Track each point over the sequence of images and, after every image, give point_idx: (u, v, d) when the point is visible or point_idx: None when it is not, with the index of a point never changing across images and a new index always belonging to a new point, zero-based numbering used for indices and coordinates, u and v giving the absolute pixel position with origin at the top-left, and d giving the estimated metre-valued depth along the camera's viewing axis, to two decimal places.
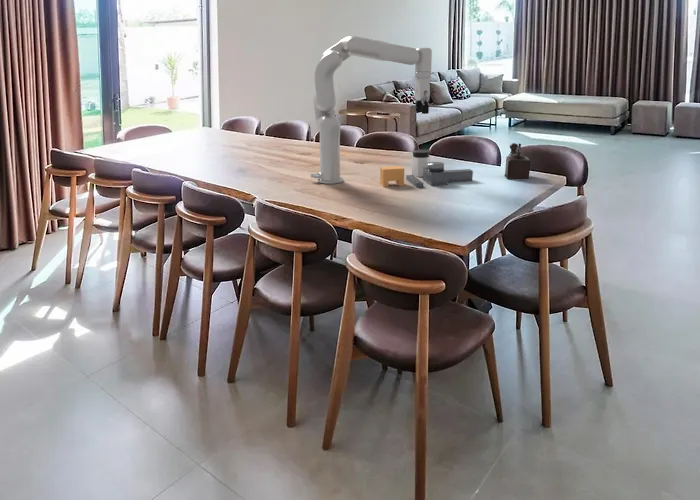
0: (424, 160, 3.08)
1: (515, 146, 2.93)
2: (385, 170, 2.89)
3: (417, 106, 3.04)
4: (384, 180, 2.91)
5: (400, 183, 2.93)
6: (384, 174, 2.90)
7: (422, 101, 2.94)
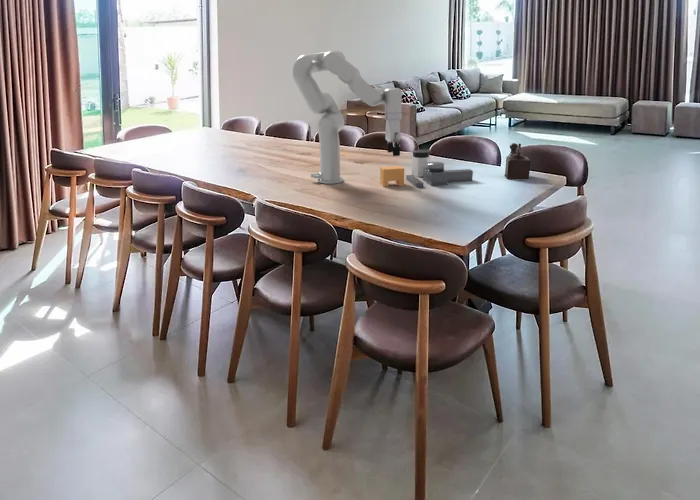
0: (424, 160, 3.08)
1: (515, 146, 2.93)
2: (385, 170, 2.89)
3: (389, 147, 2.94)
4: (384, 180, 2.91)
5: (400, 183, 2.93)
6: (384, 174, 2.90)
7: (393, 143, 2.84)
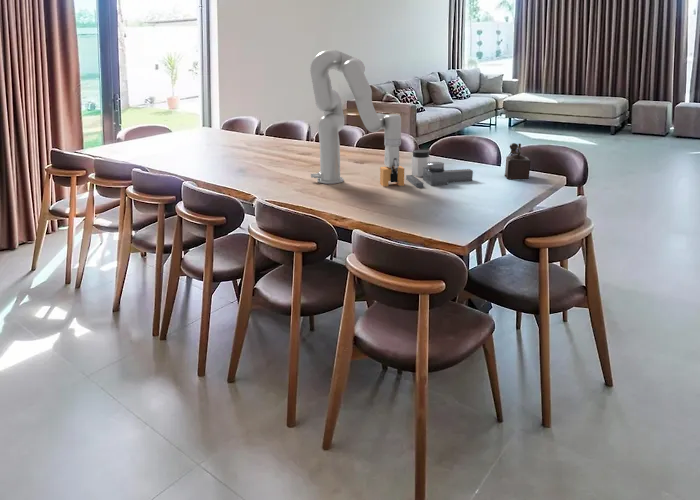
0: (424, 160, 3.08)
1: (515, 146, 2.93)
2: (385, 170, 2.89)
3: None
4: (384, 180, 2.91)
5: (400, 183, 2.93)
6: (384, 174, 2.90)
7: (391, 169, 2.89)
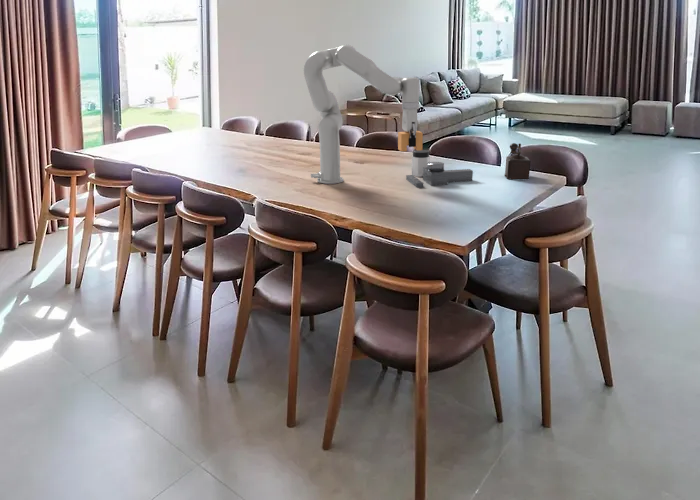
0: (424, 160, 3.08)
1: (515, 146, 2.93)
2: (403, 134, 2.85)
3: None
4: (402, 145, 2.87)
5: (418, 148, 2.89)
6: (402, 138, 2.86)
7: (409, 133, 2.85)
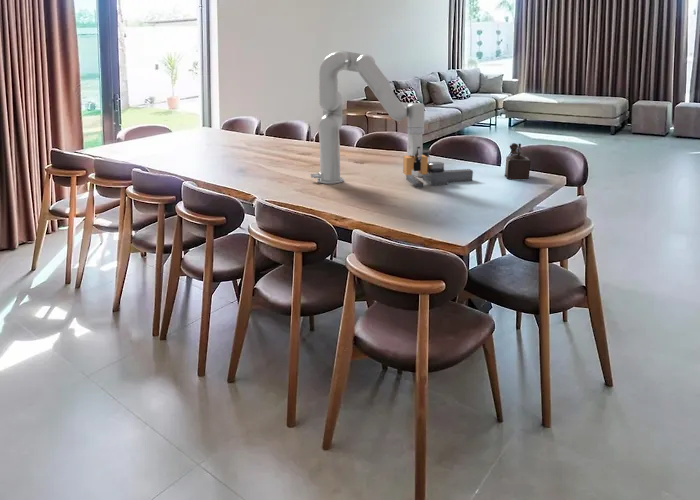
0: None
1: (515, 146, 2.93)
2: (408, 159, 2.90)
3: None
4: (407, 169, 2.91)
5: (423, 172, 2.93)
6: (407, 163, 2.90)
7: (414, 158, 2.90)
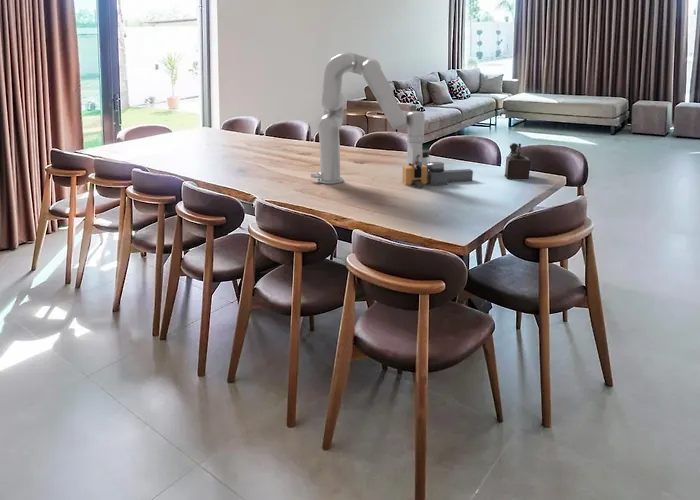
0: (424, 160, 3.08)
1: (515, 146, 2.93)
2: (407, 169, 2.91)
3: None
4: (407, 179, 2.93)
5: None
6: (407, 173, 2.92)
7: (415, 165, 2.90)
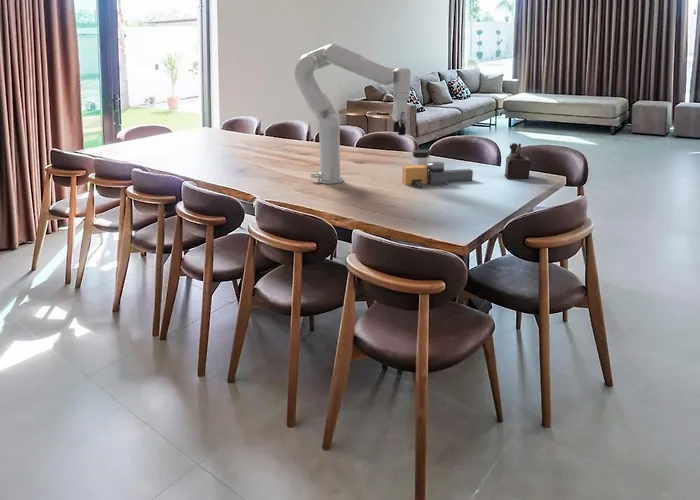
0: (424, 160, 3.08)
1: (515, 146, 2.93)
2: (407, 169, 2.91)
3: (395, 126, 2.98)
4: (407, 179, 2.93)
5: None
6: (407, 173, 2.92)
7: (399, 122, 2.89)
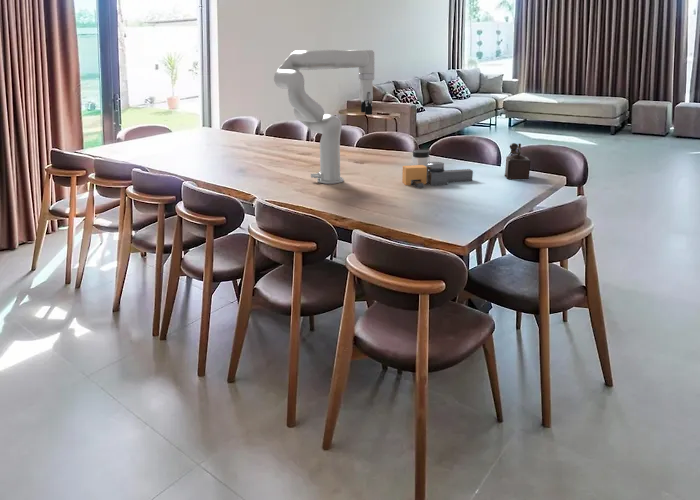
0: (424, 160, 3.08)
1: (515, 146, 2.93)
2: (407, 169, 2.91)
3: (362, 107, 3.09)
4: (407, 179, 2.93)
5: None
6: (407, 173, 2.92)
7: (365, 102, 3.00)
